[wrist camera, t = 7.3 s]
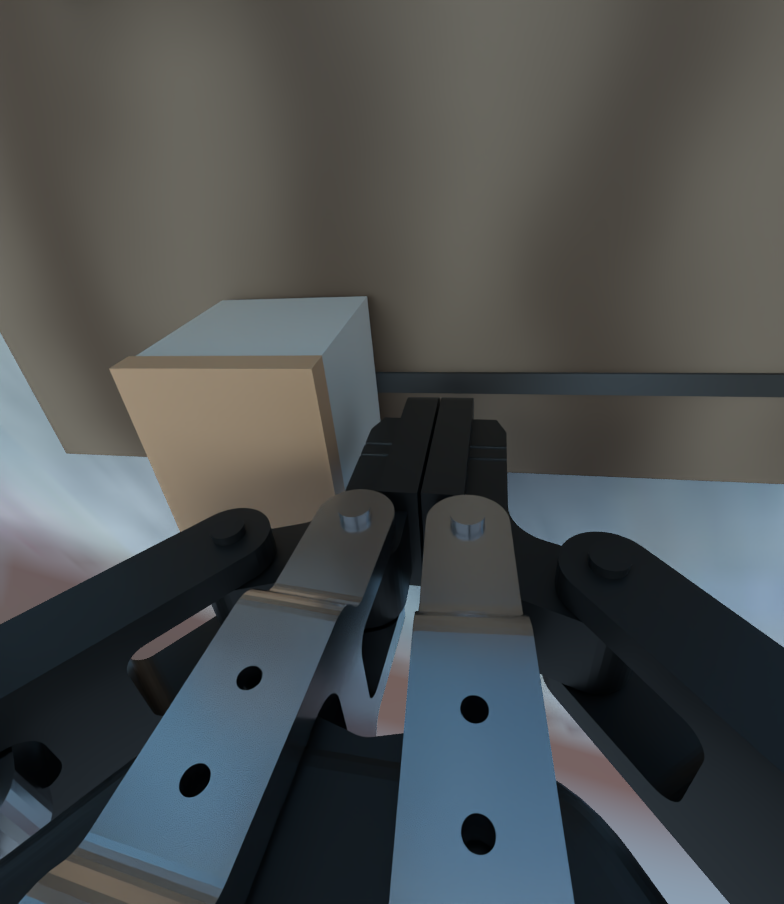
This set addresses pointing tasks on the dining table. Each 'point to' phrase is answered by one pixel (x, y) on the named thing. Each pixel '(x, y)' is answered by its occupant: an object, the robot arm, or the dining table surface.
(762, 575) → the dining table surface
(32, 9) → the fader board
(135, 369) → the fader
